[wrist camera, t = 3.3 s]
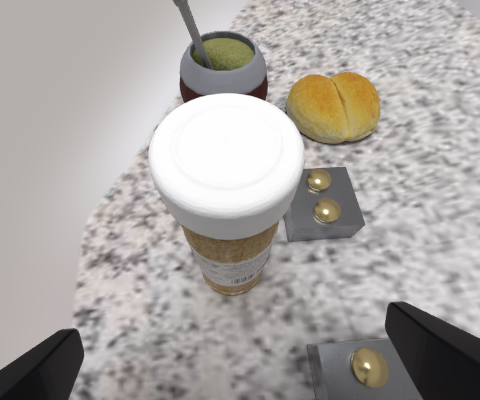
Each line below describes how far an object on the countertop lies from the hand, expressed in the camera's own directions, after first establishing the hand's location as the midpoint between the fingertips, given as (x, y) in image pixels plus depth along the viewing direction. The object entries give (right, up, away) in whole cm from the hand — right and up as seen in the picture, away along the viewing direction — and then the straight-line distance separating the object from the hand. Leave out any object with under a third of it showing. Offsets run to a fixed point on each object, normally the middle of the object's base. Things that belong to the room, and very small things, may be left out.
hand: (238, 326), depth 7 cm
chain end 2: (+7, -8, +8) cm, 13 cm away
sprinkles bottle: (-1, -1, +12) cm, 12 cm away
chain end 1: (+6, +3, +14) cm, 15 cm away
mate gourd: (-2, +10, +18) cm, 21 cm away
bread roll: (+9, +12, +20) cm, 25 cm away
